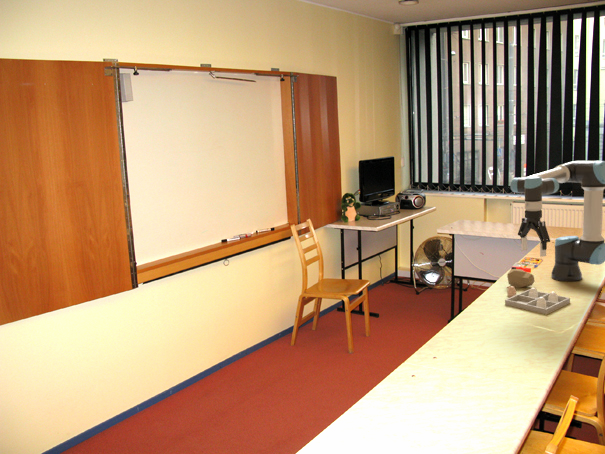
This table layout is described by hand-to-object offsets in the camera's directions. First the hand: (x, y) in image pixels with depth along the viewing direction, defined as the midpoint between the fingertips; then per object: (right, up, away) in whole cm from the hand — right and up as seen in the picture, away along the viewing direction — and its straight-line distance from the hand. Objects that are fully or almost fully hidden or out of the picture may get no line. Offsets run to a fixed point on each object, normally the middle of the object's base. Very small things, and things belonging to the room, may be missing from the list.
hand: (533, 253), depth 252 cm
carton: (+3, -25, +3) cm, 25 cm away
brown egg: (-4, -23, +17) cm, 29 cm away
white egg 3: (+10, -24, +1) cm, 26 cm away
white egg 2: (+2, -26, -4) cm, 26 cm away
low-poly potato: (+6, -20, +30) cm, 37 cm away
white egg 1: (+4, -23, +10) cm, 25 cm away
